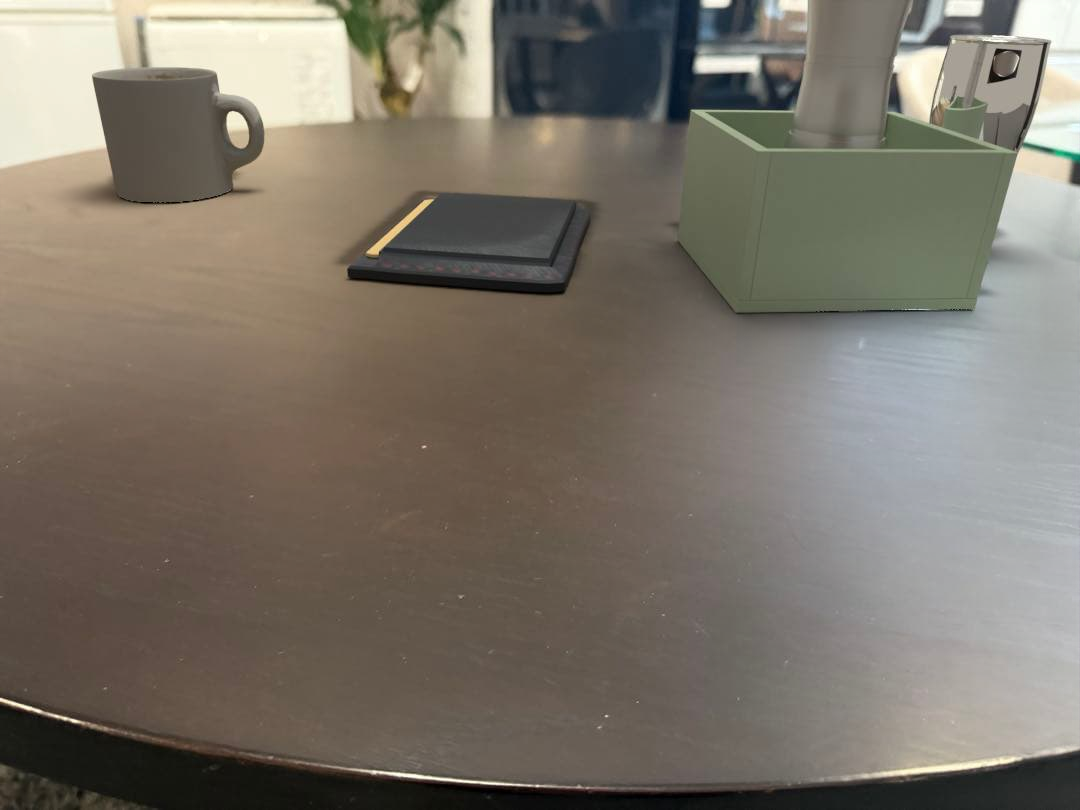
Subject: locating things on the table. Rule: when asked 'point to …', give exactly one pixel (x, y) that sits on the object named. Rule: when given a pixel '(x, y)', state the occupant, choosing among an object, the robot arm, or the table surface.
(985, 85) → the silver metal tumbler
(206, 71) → the coffee mug
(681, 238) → the bin
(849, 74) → the plastic bottle
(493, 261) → the wallet
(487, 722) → the table surface
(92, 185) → the table surface
